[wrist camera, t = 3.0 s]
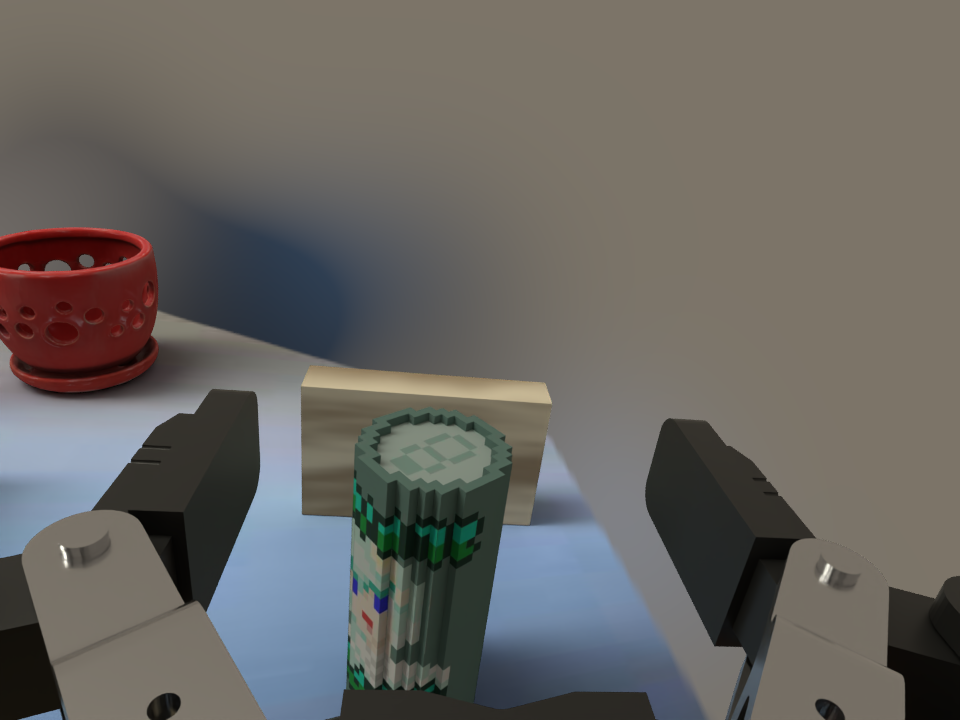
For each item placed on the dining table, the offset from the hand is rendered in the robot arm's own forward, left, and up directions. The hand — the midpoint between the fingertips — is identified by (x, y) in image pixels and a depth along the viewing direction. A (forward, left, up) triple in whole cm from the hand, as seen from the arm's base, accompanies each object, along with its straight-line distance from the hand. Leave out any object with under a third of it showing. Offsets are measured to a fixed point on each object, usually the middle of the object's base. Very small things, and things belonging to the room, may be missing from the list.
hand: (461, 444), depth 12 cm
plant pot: (+43, +31, -22) cm, 57 cm away
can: (+11, 0, -22) cm, 25 cm away
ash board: (+26, 0, -22) cm, 34 cm away
